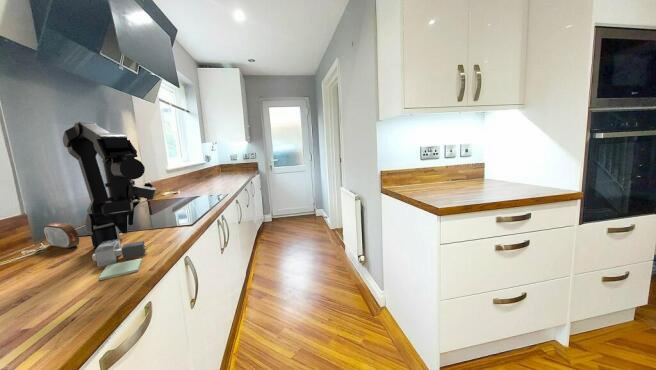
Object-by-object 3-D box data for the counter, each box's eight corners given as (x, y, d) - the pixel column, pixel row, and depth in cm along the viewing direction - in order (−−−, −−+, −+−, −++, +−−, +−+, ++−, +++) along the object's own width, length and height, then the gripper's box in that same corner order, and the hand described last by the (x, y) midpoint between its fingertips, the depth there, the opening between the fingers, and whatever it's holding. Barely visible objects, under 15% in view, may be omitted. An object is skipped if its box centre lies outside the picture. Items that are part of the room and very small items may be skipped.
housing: (122, 253, 80) (119, 238, 79) (116, 263, 73) (112, 247, 72) (105, 256, 78) (102, 241, 77) (97, 267, 71) (94, 250, 70)
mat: (142, 260, 74) (142, 258, 74) (137, 271, 68) (137, 269, 67) (107, 267, 71) (107, 265, 71) (99, 280, 64) (98, 278, 64)
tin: (82, 246, 88) (77, 223, 86) (70, 250, 85) (65, 226, 83) (56, 243, 93) (51, 221, 91) (44, 246, 90) (39, 223, 88)
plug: (148, 250, 81) (146, 240, 81) (147, 254, 78) (145, 243, 78) (96, 261, 75) (94, 250, 75) (92, 266, 72) (90, 254, 72)
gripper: (148, 178, 70) (156, 232, 73) (155, 172, 86) (162, 217, 89) (95, 183, 65) (107, 240, 67) (113, 176, 81) (122, 223, 83)
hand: (128, 228), depth 77 cm, fingers open, 9 cm apart
